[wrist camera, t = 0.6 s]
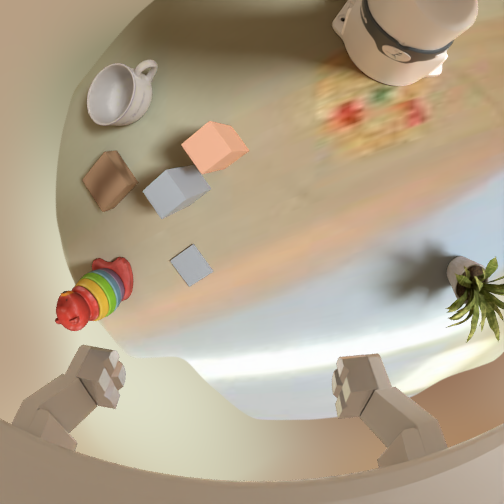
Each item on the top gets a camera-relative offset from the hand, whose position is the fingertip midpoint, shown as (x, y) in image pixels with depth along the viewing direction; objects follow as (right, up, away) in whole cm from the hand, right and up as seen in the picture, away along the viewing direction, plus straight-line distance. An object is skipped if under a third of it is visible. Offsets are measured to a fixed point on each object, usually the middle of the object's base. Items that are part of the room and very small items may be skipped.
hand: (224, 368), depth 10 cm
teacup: (-19, +32, +35) cm, 51 cm away
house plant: (+37, +2, +33) cm, 50 cm away
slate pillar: (-9, +15, +38) cm, 42 cm away
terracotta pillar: (-3, +21, +35) cm, 41 cm away
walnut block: (-25, +18, +41) cm, 52 cm away
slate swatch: (-10, +2, +43) cm, 45 cm away
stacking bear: (-28, -2, +49) cm, 57 cm away
